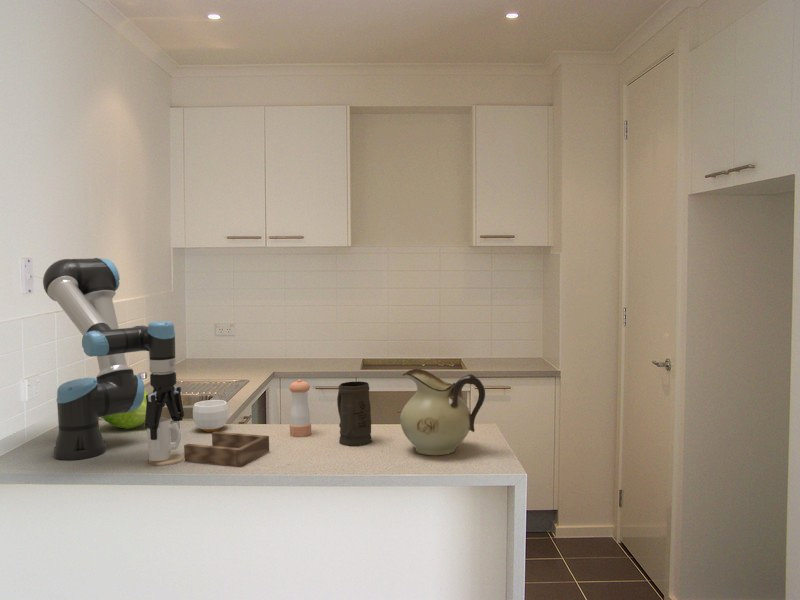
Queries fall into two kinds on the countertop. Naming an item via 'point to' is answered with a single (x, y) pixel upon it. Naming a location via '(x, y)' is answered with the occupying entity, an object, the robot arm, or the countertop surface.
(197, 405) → the white bowl
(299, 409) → the salt shaker
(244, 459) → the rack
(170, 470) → the countertop surface
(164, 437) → the mug
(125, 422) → the lettuce
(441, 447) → the pitcher
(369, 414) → the beer stein
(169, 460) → the coaster
